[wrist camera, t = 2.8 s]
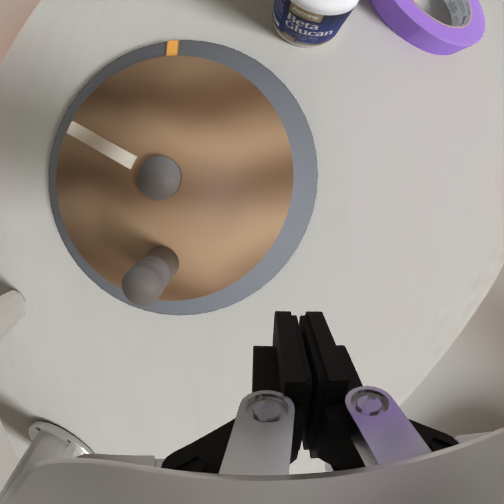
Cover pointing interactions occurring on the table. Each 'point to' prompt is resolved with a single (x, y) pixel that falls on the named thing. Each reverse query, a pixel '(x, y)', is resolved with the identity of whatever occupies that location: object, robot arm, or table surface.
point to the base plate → (302, 173)
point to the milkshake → (11, 310)
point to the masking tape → (434, 24)
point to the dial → (174, 178)
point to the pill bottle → (310, 20)
